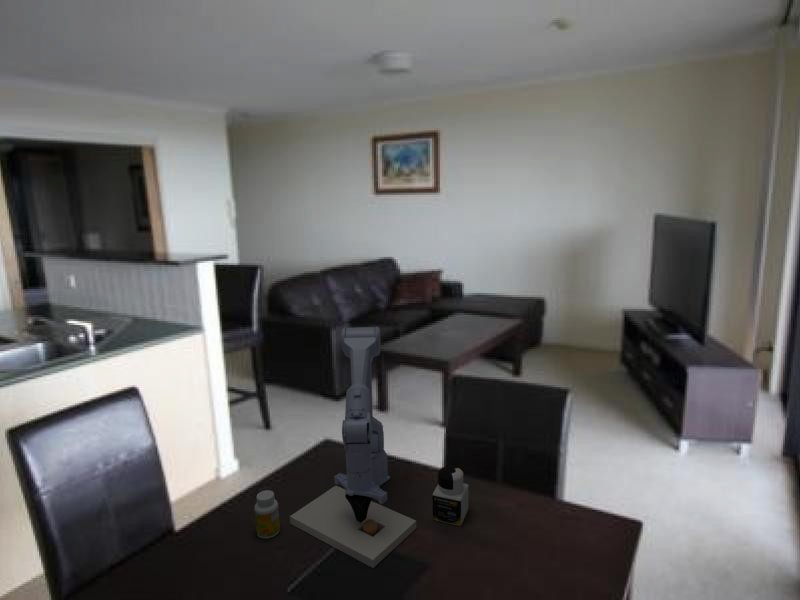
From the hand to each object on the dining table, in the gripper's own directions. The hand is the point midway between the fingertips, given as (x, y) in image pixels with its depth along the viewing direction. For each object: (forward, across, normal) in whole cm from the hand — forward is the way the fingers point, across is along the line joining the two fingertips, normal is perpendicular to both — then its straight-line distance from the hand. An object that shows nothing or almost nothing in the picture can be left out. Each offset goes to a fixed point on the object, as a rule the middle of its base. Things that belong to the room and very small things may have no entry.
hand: (361, 519), depth 121 cm
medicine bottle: (+3, +14, +17) cm, 22 cm away
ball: (+1, +2, 0) cm, 3 cm away
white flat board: (+3, -3, 0) cm, 4 cm away
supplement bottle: (+3, -18, -13) cm, 22 cm away
